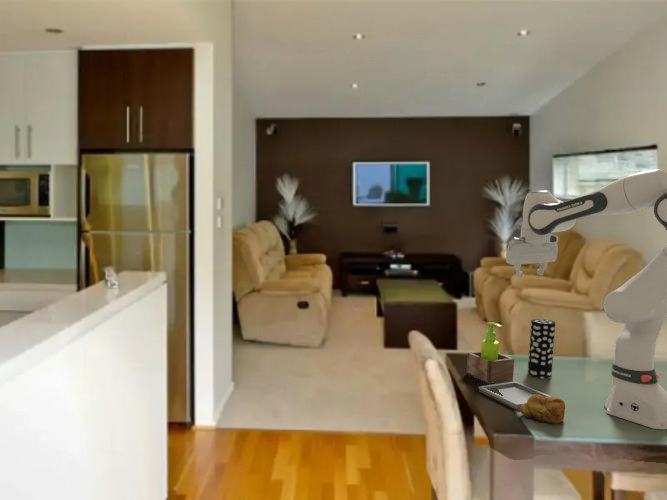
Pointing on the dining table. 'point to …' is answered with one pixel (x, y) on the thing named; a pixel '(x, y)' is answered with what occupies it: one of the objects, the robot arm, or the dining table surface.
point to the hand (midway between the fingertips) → (529, 275)
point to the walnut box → (491, 367)
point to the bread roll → (544, 409)
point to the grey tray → (512, 393)
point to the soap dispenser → (490, 343)
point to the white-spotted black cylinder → (541, 348)
